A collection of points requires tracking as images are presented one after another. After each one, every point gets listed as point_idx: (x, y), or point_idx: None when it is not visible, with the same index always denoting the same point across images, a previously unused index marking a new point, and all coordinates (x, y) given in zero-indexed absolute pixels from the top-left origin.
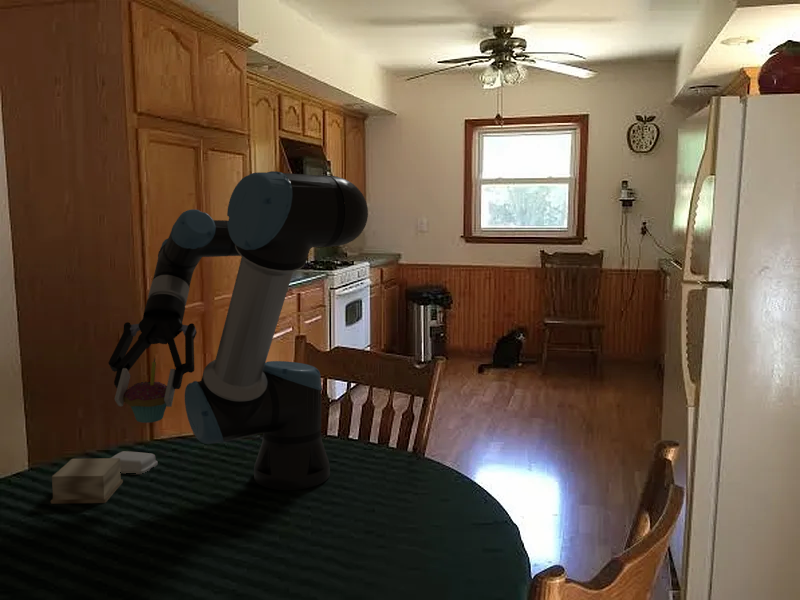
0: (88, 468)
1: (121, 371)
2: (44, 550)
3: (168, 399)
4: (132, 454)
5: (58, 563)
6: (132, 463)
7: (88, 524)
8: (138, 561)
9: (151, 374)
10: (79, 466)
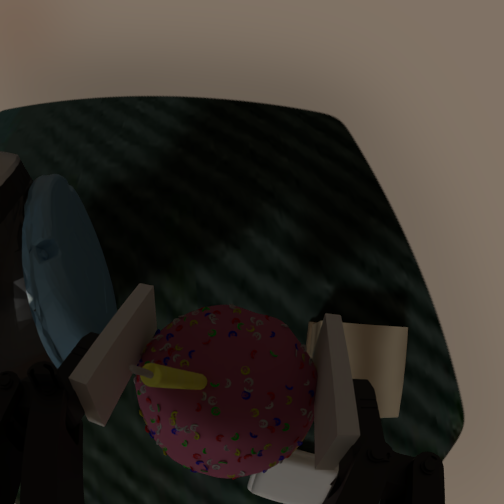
0: (358, 363)
1: (361, 436)
2: (343, 184)
3: (138, 286)
4: (295, 489)
5: (314, 153)
6: (289, 457)
7: (313, 246)
8: (226, 144)
9: (187, 373)
10: (376, 375)
